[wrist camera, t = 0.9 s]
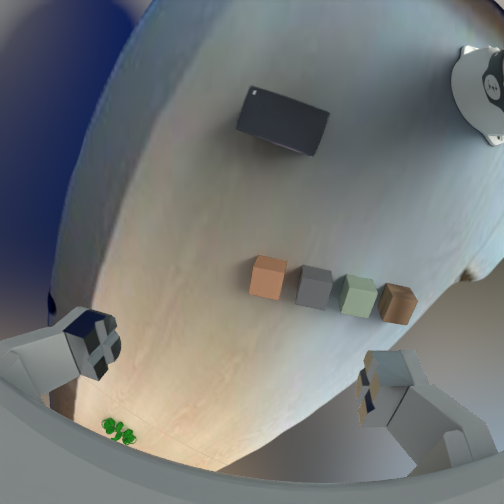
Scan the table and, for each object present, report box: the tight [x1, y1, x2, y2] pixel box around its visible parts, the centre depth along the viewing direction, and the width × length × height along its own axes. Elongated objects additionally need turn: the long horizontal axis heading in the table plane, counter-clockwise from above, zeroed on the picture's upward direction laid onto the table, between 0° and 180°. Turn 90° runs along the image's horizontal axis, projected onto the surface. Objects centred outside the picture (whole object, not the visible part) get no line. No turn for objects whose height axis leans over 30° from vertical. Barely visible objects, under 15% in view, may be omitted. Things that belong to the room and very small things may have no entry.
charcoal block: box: [296, 265, 333, 310], centre depth 47 cm, size 5×5×5 cm
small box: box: [235, 86, 330, 157], centre depth 36 cm, size 11×6×10 cm, turn 71°
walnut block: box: [378, 283, 418, 325], centre depth 45 cm, size 5×5×5 cm
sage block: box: [339, 274, 378, 318], centre depth 46 cm, size 5×5×5 cm
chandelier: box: [102, 418, 136, 445], centre depth 83 cm, size 15×15×7 cm
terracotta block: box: [249, 255, 287, 300], centre depth 48 cm, size 5×5×5 cm
